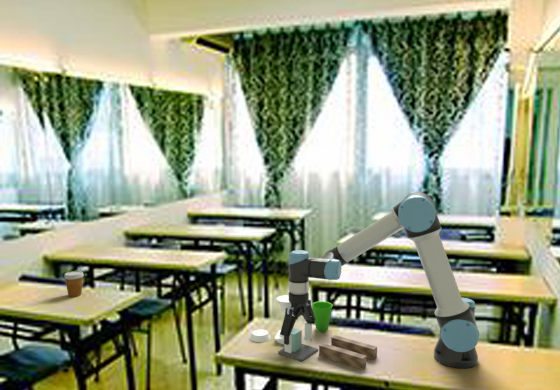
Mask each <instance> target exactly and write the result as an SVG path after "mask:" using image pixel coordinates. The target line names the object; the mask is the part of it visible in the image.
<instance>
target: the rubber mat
mask: <svg viewBox="0 0 560 390" xmlns="http://www.w3.org/2000/svg"><path fill="white" fill-rule="evenodd" d="M317 352H319V347H314V346H311V345H308V344H304V343H302V348H300V349H299V350H297V351H296V352H292V353H288V352H285V349H284V347H283V348H281V349H279V350H277V353H278V355H279V354H280V355H283V356H285V357H288V358H291V359H295V360H297V361H300V362H303V361H305V360H306V359H308V358H310V357H311V356H313V355H314V354H315V353H317Z"/></svg>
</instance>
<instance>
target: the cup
mask: <svg viewBox="0 0 560 390" xmlns="http://www.w3.org/2000/svg"><path fill="white" fill-rule="evenodd" d="M311 306H312V309H313V312H314V316H315V320H314V324H315V330H316V329H317V330H318V331H317V330H316V331H317V332H320V331H322V333H324V332H327V331H329V326H330V320H331V314H332V309H333V307H334V304H332V303H331V302H329V301H323V300H322V301H319V300H318V301H315V302H312V303H311Z"/></svg>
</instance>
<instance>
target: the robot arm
mask: <svg viewBox="0 0 560 390" xmlns="http://www.w3.org/2000/svg"><path fill="white" fill-rule="evenodd" d="M441 225H442V224H441V223H440V219H439V216H438V214H437V211H436V205H435V201H434V200H433V198H432V197H431V196H430V195H428V194H427V193H425V192H419V191H416V192H412V193H409V194H408V195H406V196H405V197H404V199H403V200H401V201H400V202H399V203H397V204H396V205H395V206H393V207H392V209H391V211H390V212H389V213H387V214H385V215H384V216H382V217H381V218H379V219H377V220H376V221H374V222H373V223H371V224H370V225H368V226H366V227H365V228H364V229H362V230H360V231H359V232H357V233H355V234H354V235H352V236H351V237H349V238H348V239H346V240H344V241H343V242H342V243H340V244H338V245H337V246H335V247H333V248H332V249H329V250H327V251H326V252H325V253H324V255H322V256H321V257H311V256H310V254H309V253H310V252H309V251H307V250H303V249H301V250H300V249H298V250H292V251H291V252H289V255H288V263H287V264H288V295H289V302H290V303H291V308H286V310H285V314H284V316H283V317H284V318H283V321H282V326H281V329H280V330H281V332H280V335H283V336H284V344H285V352H288V353H292V336H291V335H290V334H291V332H292V329H293V328H294V326H295V324H296V321H297V320H298V319H299V318H300V317H301V316H302V317H303V319H304V320H305V322H304V339H305V340H307V341H309V342H310V341H312V333H313V332H312V329H313V327H312V326H313V324H315V316H314V312H313V306H312V300H311V299H309V298H310V297H309V291H310V290H309V288H310V285H309V284H310V282H309V280H310V278H311V279H320V280H322V279H323V280H328V281H333V280H334V281H337V280H340V278H341V274H342V267H343V266H344V265H346V264H348V263H349V262H350V261H352V260H354V259H355V258H357V257H359V256H360V255H362V254H364V253H365V252H367V251H369V250H370V249H372V248H374V247H375V246H377V245H378V244H380V243H381V242H384V241H385V240H386V239H388V238H390V237H392V236H394V235H395V234H396V233H398V232H400V231H401V230H403V229H404V230H405V233H406V237H407V239H408V240H410V241H413V243H414V246H415V248H416V252H417V254H418V258H419V260H420V262H421V266H422V268H423V271H424V274H425V276H426V279H427V282H428V283H427V284H428V285H429V288H430V290H431V294H432V297H433V300H434V302H435V305H436V309H435V310H434V315H435V318H436V321H437V324H438V327H439V336H438V340H437V342H436V344H435V348H433V349H434V351H433V357H434V359H435V360H436V361H437V362H439V363H440V364H443V365H445V366H447V367H452V368H456V369H457V368H458V369H469V368H474V367H476V366H477V365H478V362H479V361H478V360H479V355H478V351H477V349H476V346H477V345H478V342H479V340H480V332H479V328H478V325H477V324H478V323H477V321H476V316H475V314H476V312H475V311H476V303H475V301H474V300H473V299H470V298H468V297H462V295H461V292H460V289H459V286H458V284H457V281H456V277H455V275H454V273H453V270H452V267H451V264H450V262H449V259H448V256H447V252H446V249H445V246H444V245H443V242H442V239H441V236H440V232H441V231H442V229H443V228H442V226H441ZM284 344H283V345H284Z"/></svg>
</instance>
